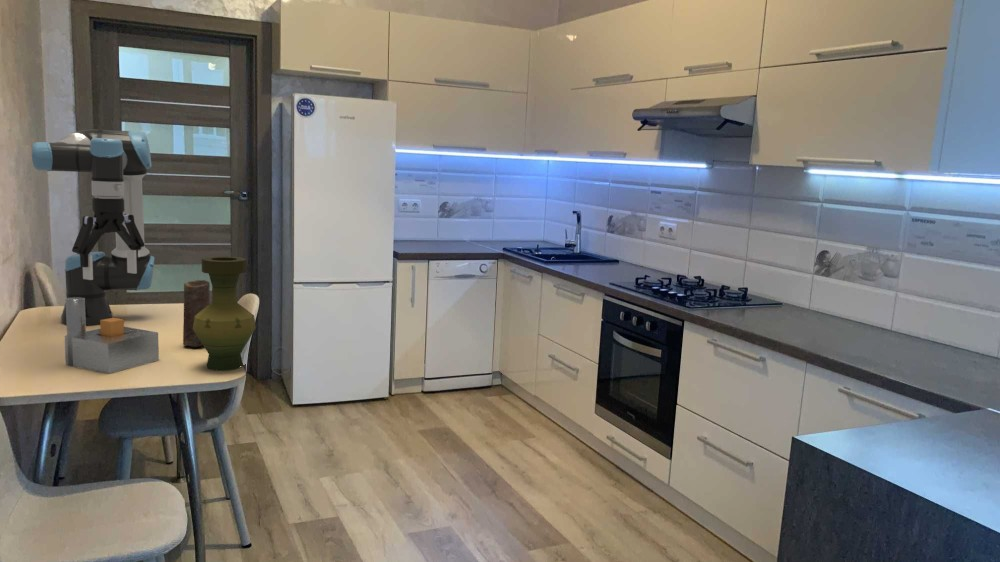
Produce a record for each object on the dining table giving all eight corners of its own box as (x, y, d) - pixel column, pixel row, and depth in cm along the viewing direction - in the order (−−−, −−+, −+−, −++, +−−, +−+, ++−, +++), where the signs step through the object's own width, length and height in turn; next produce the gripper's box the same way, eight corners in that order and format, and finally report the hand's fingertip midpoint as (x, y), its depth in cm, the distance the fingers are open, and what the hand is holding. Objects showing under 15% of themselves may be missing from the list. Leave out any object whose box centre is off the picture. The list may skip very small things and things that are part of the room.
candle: (215, 345, 220) (214, 281, 217) (198, 350, 213) (197, 284, 210) (195, 342, 222) (194, 278, 219) (177, 347, 216) (176, 281, 213)
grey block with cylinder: (64, 364, 192) (61, 299, 189) (116, 352, 207) (114, 290, 204) (108, 373, 186) (106, 306, 183) (158, 360, 201) (157, 297, 198)
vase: (267, 362, 205) (267, 258, 200) (234, 376, 189) (233, 264, 185) (216, 356, 208) (215, 253, 204) (180, 370, 193) (178, 259, 188)
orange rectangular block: (101, 363, 196) (100, 320, 194) (114, 359, 199) (113, 317, 197) (112, 365, 194) (110, 322, 192) (124, 361, 198) (123, 319, 196)
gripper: (75, 199, 177) (78, 283, 181) (157, 197, 200) (158, 272, 203) (53, 197, 180) (57, 280, 183) (137, 195, 203) (139, 269, 206)
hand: (110, 276), depth 193 cm, fingers open, 13 cm apart
